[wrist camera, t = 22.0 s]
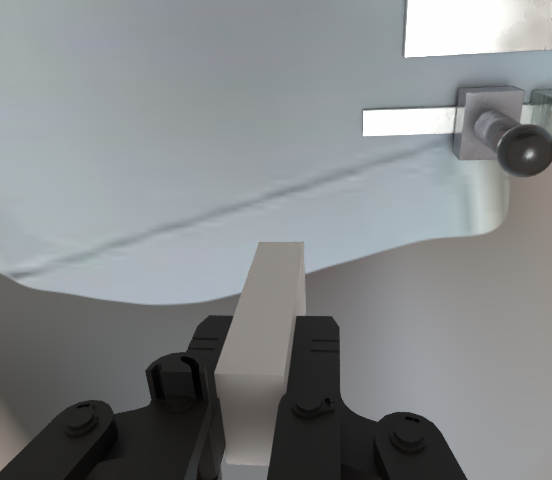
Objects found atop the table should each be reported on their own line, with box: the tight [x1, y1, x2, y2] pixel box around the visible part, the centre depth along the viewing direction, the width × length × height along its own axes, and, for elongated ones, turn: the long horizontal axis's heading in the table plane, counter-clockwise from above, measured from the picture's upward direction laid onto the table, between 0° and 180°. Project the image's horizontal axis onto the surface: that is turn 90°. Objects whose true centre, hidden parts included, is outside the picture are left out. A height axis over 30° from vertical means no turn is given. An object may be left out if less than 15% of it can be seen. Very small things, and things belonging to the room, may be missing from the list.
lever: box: [453, 86, 552, 177], centre depth 32 cm, size 5×4×11 cm
